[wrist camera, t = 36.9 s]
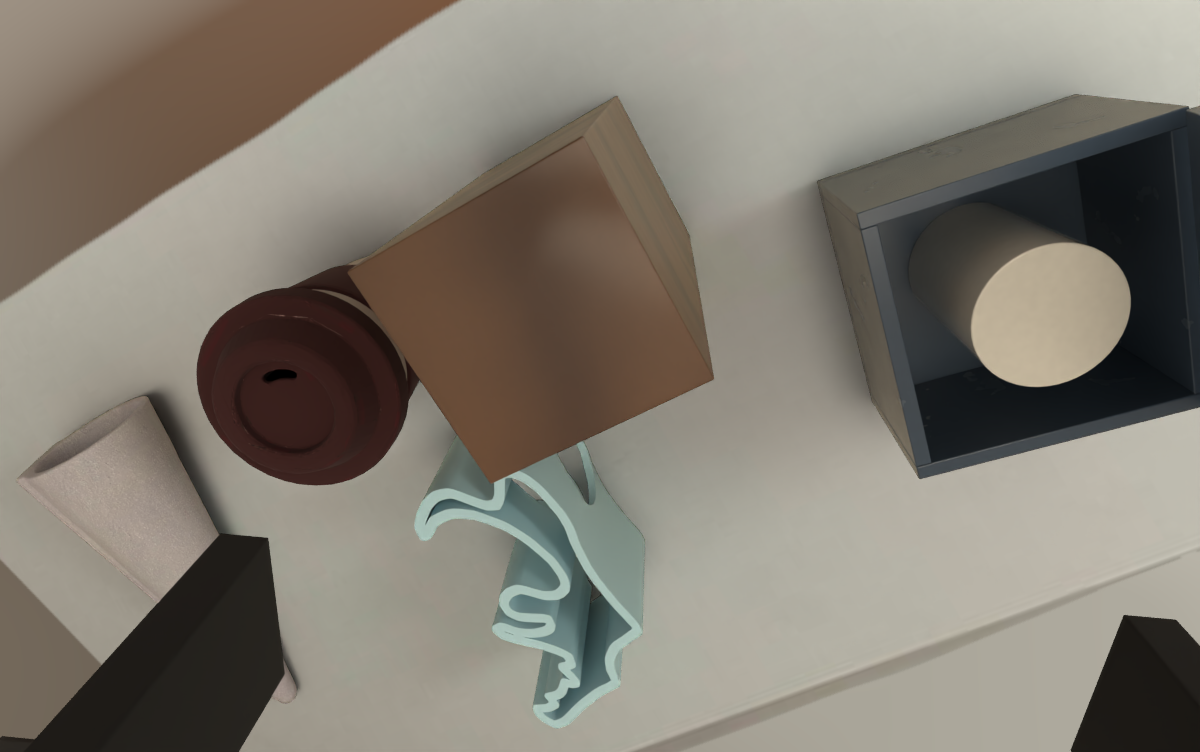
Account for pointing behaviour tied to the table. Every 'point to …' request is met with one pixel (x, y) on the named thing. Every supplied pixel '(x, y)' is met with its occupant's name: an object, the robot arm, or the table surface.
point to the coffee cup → (306, 381)
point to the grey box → (1062, 202)
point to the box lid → (1195, 166)
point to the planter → (130, 500)
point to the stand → (547, 296)
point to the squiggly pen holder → (553, 571)
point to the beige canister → (1020, 293)
